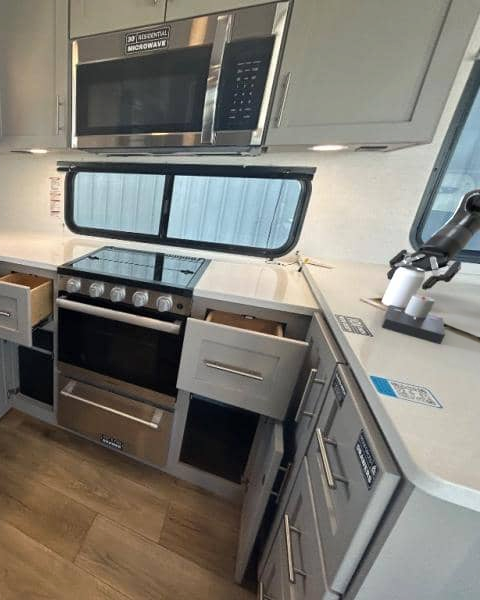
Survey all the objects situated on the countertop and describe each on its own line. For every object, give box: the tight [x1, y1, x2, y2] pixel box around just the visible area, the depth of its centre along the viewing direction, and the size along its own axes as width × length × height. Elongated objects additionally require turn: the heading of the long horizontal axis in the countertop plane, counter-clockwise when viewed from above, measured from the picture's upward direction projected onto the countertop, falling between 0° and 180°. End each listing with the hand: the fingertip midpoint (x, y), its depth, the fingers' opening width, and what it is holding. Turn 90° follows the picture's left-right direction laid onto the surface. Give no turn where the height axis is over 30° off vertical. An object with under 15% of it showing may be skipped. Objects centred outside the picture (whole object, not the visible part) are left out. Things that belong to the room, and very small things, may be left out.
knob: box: [405, 294, 436, 318], centre depth 88 cm, size 4×4×5 cm
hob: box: [381, 305, 446, 345], centre depth 88 cm, size 15×11×3 cm
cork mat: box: [359, 297, 389, 312], centre depth 101 cm, size 12×12×1 cm
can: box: [381, 266, 426, 309], centre depth 98 cm, size 6×6×12 cm
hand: (405, 282), depth 97 cm, fingers open, 8 cm apart
